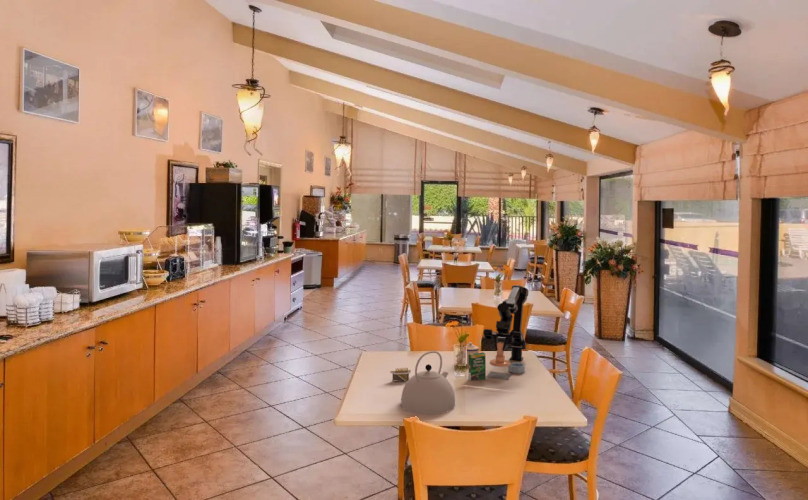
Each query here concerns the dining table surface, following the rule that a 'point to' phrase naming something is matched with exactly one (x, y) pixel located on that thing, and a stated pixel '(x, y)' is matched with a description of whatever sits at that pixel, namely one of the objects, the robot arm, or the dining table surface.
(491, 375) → the mat
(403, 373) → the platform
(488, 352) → the dining table surface
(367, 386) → the dining table surface
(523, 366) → the bowl
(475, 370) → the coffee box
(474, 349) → the teacup with lid
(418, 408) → the kettle
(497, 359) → the wooden peg stand
